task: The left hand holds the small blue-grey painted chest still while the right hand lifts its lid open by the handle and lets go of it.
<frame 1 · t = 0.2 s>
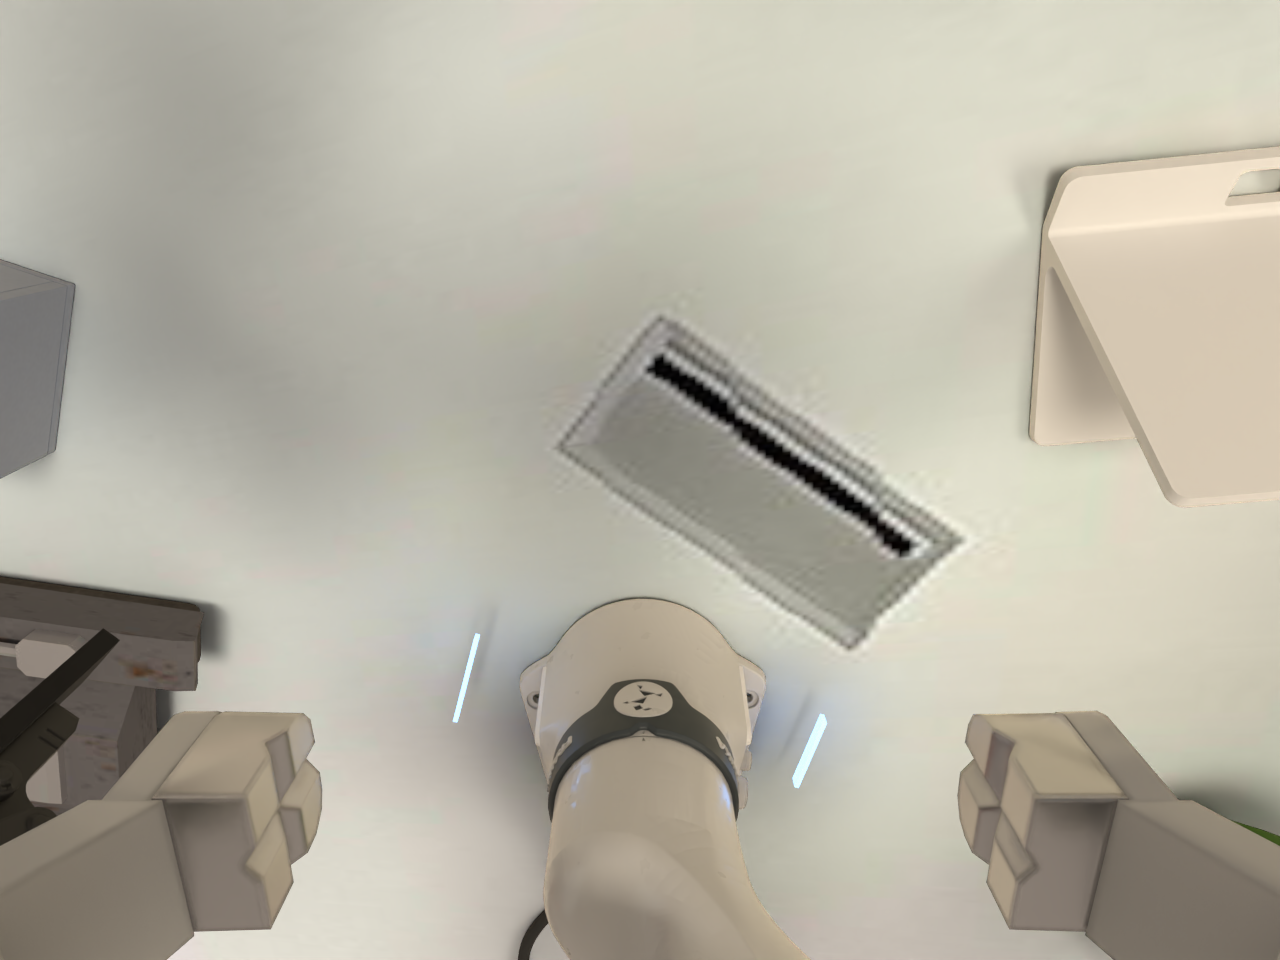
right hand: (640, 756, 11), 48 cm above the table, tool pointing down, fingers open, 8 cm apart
tablet stand: (1228, 294, 56), on the table
toy: (62, 692, 67), on the table
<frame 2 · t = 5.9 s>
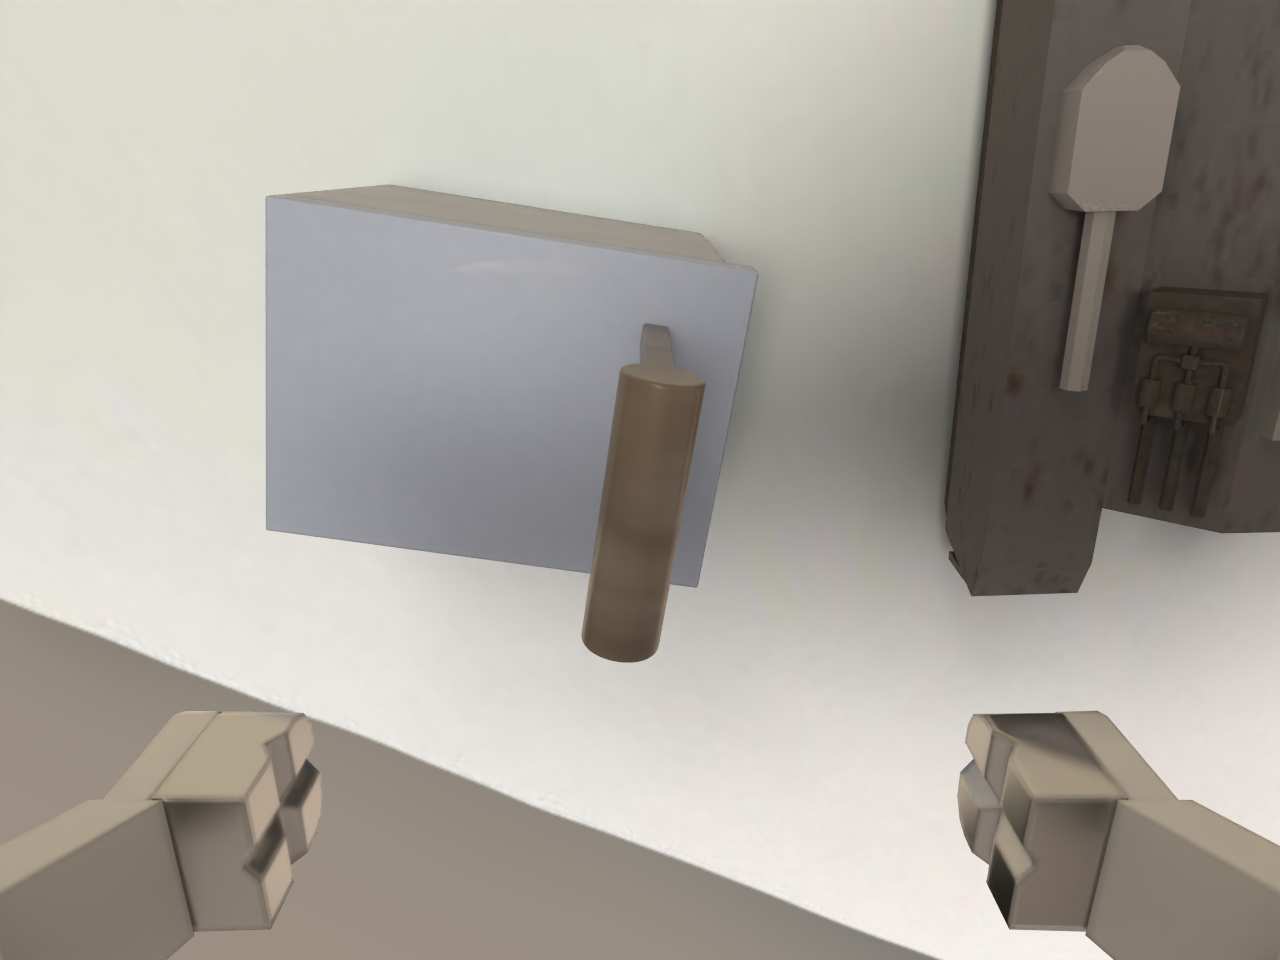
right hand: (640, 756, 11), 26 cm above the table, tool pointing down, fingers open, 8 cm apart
chest: (533, 330, 35), on the table
toy: (1217, 241, 33), on the table
lid: (479, 441, 21), point 15 cm above the table, hinge at 0.0°
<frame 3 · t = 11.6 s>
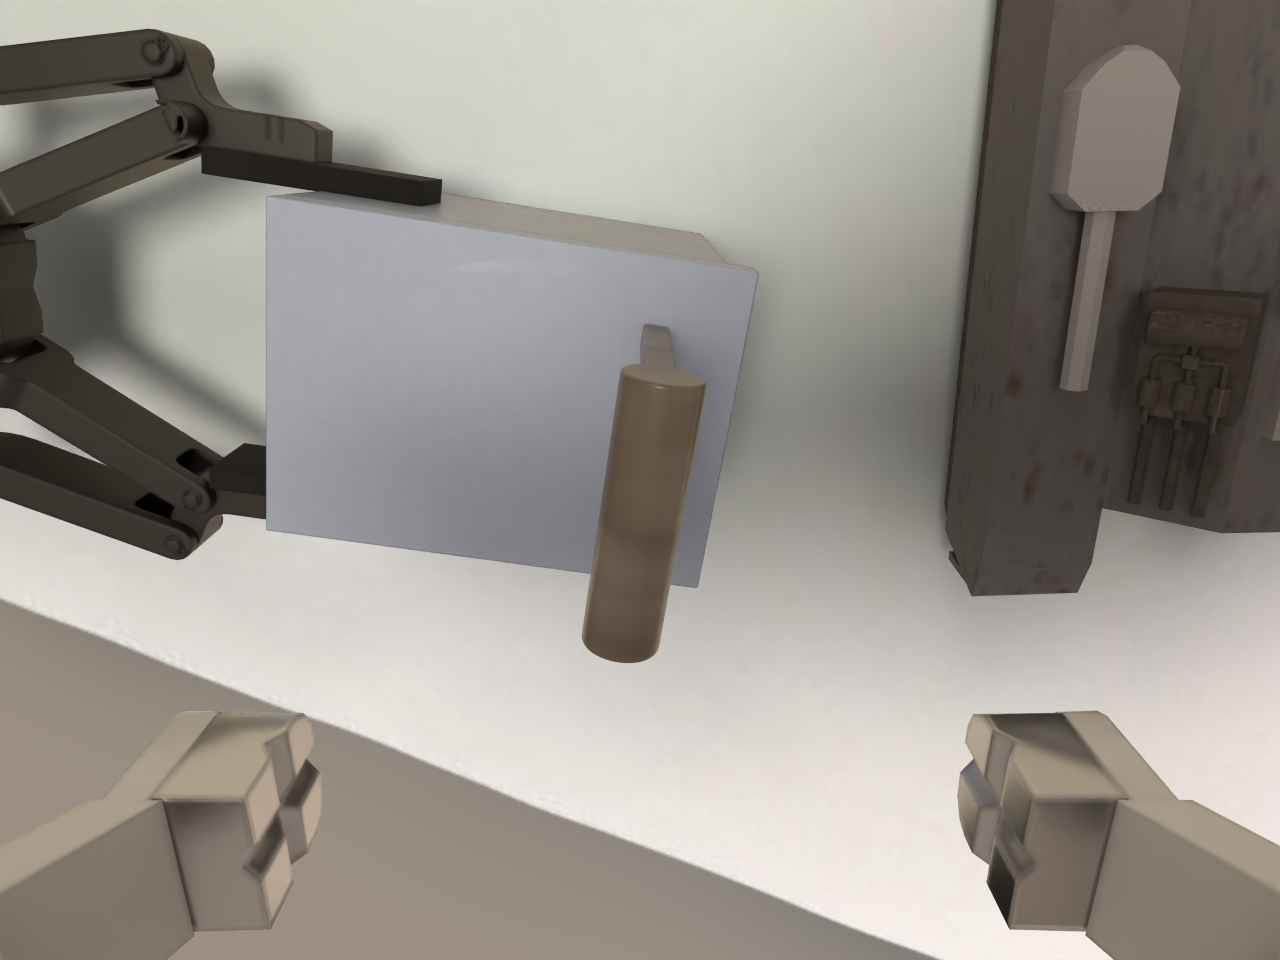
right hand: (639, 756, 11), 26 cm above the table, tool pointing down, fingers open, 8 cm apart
left hand: (422, 350, 29), fingers closed on chest, 9 cm apart
chest: (533, 330, 35), on the table, touching left hand
toy: (1217, 241, 33), on the table
lid: (480, 442, 21), point 15 cm above the table, hinge at 0.0°
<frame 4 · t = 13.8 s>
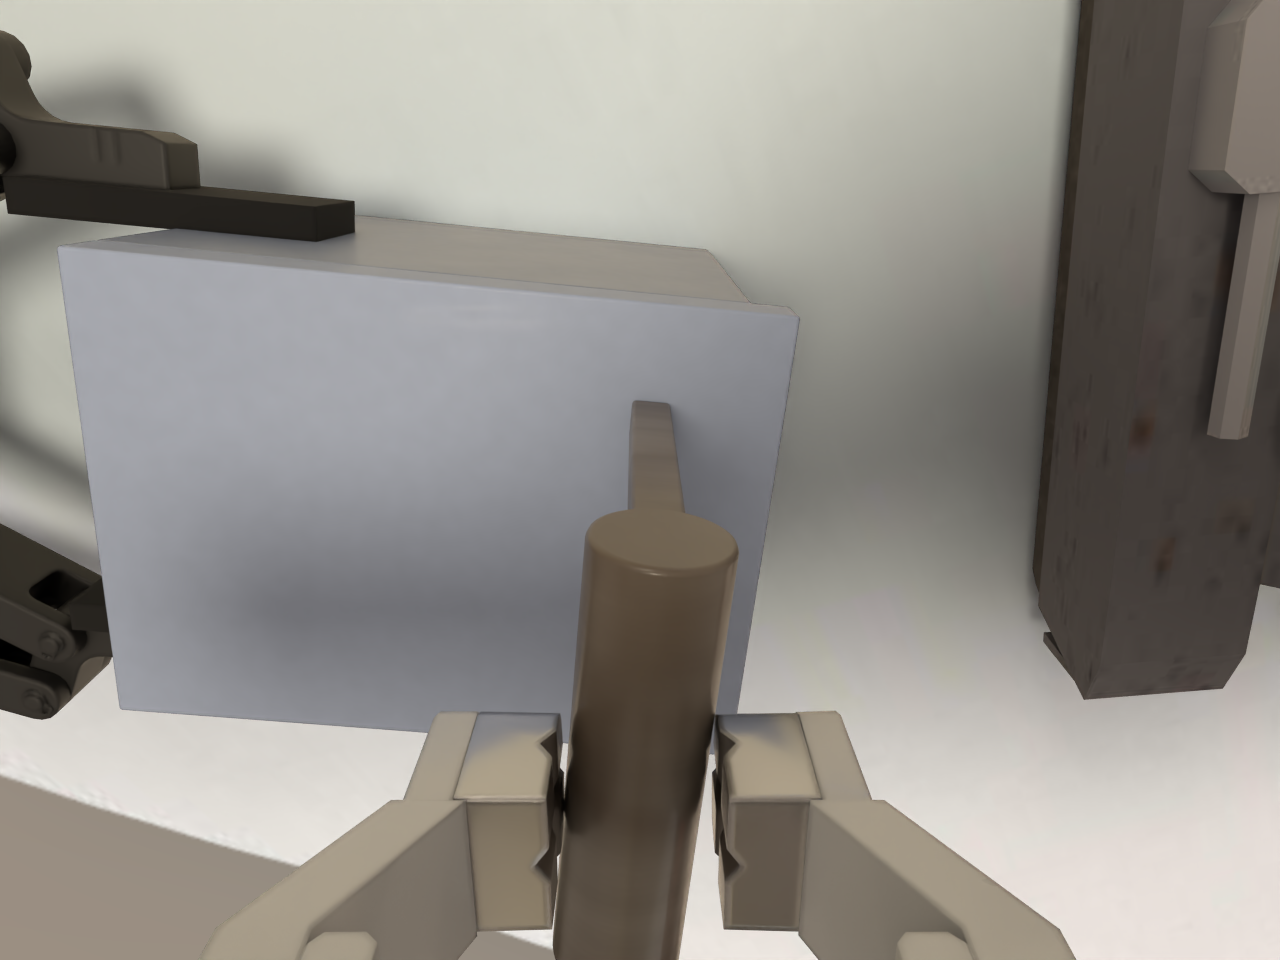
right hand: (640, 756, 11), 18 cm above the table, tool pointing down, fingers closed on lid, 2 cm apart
chest: (501, 383, 27), on the table, touching left hand
lid: (388, 607, 14), point 15 cm above the table, hinge at -0.1°, touching right hand
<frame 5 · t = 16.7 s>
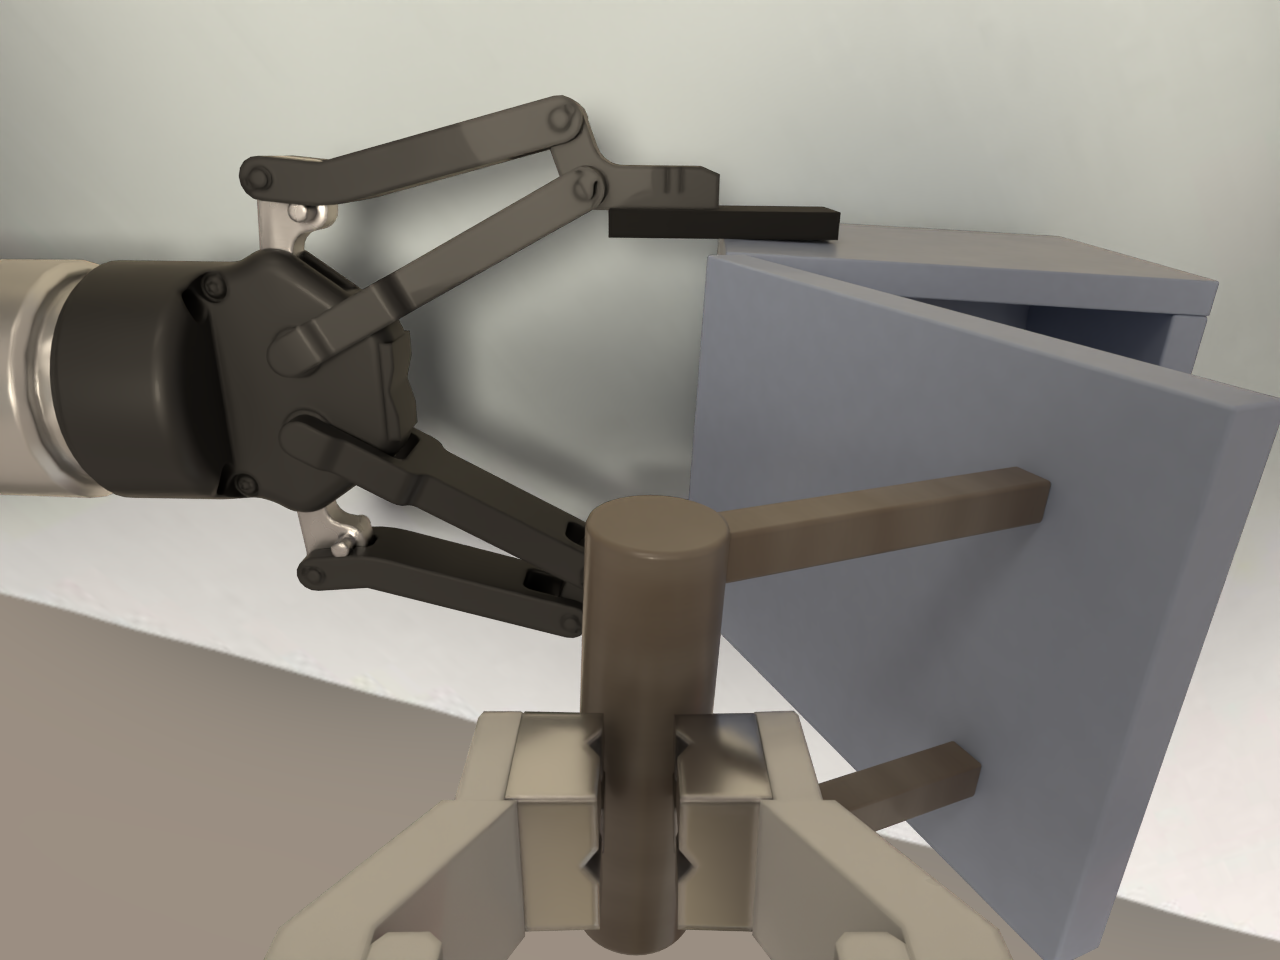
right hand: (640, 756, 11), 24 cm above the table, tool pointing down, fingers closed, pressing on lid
left hand: (815, 391, 27), fingers closed on chest, 10 cm apart
chest: (869, 354, 33), on the table, touching left hand
lid: (712, 562, 16), point 18 cm above the table, hinge at 60.7°, touching right hand
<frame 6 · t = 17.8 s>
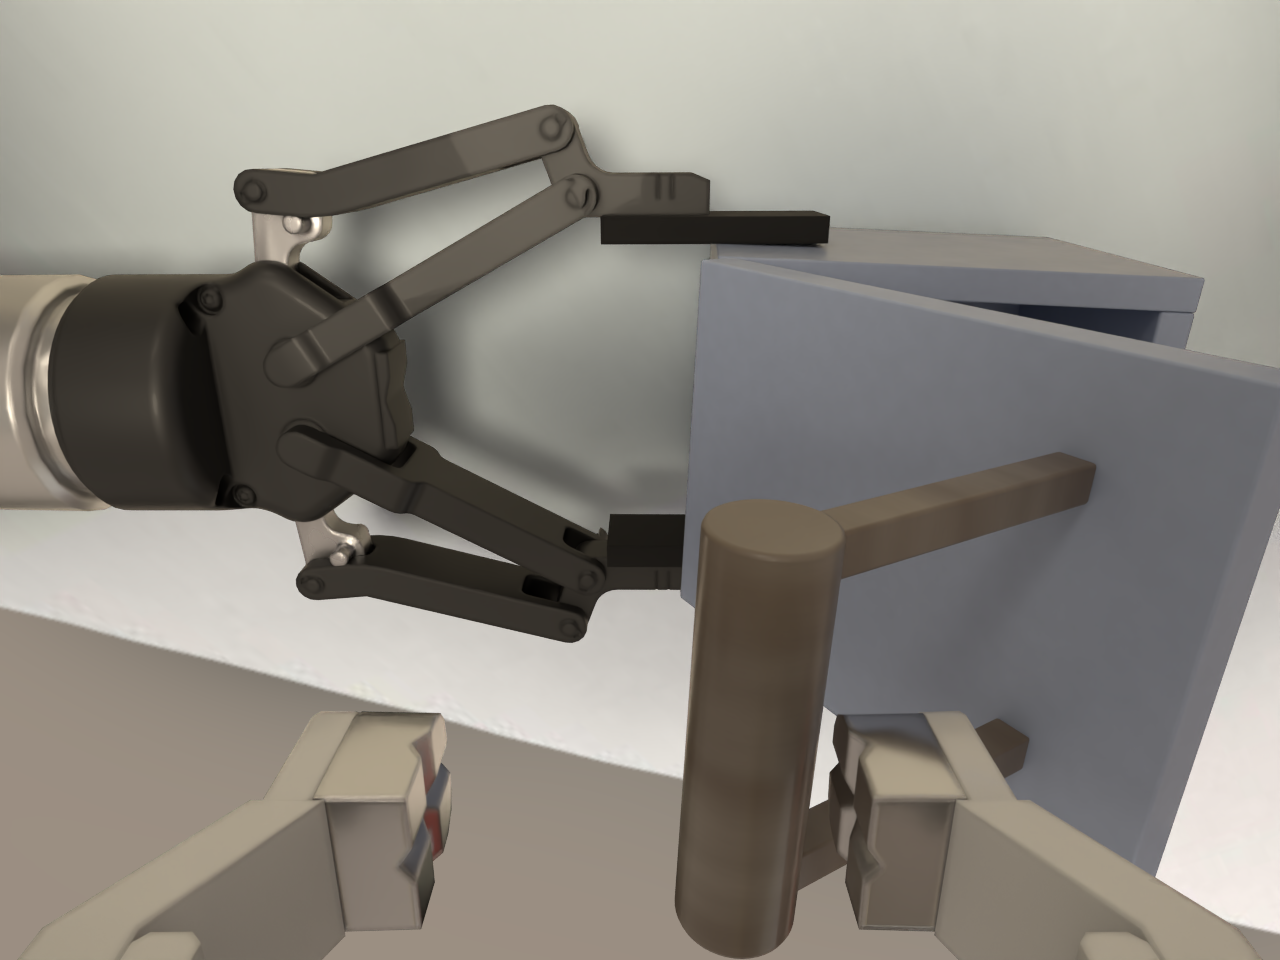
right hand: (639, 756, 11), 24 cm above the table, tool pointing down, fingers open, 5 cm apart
left hand: (809, 393, 27), fingers closed on chest, 10 cm apart
chest: (861, 356, 33), on the table, touching left hand
lid: (753, 563, 16), point 18 cm above the table, hinge at 54.0°
when the left hand's fingers open (6 cm above the table, at t = 20.9 s): chest stays where it is, on the table.
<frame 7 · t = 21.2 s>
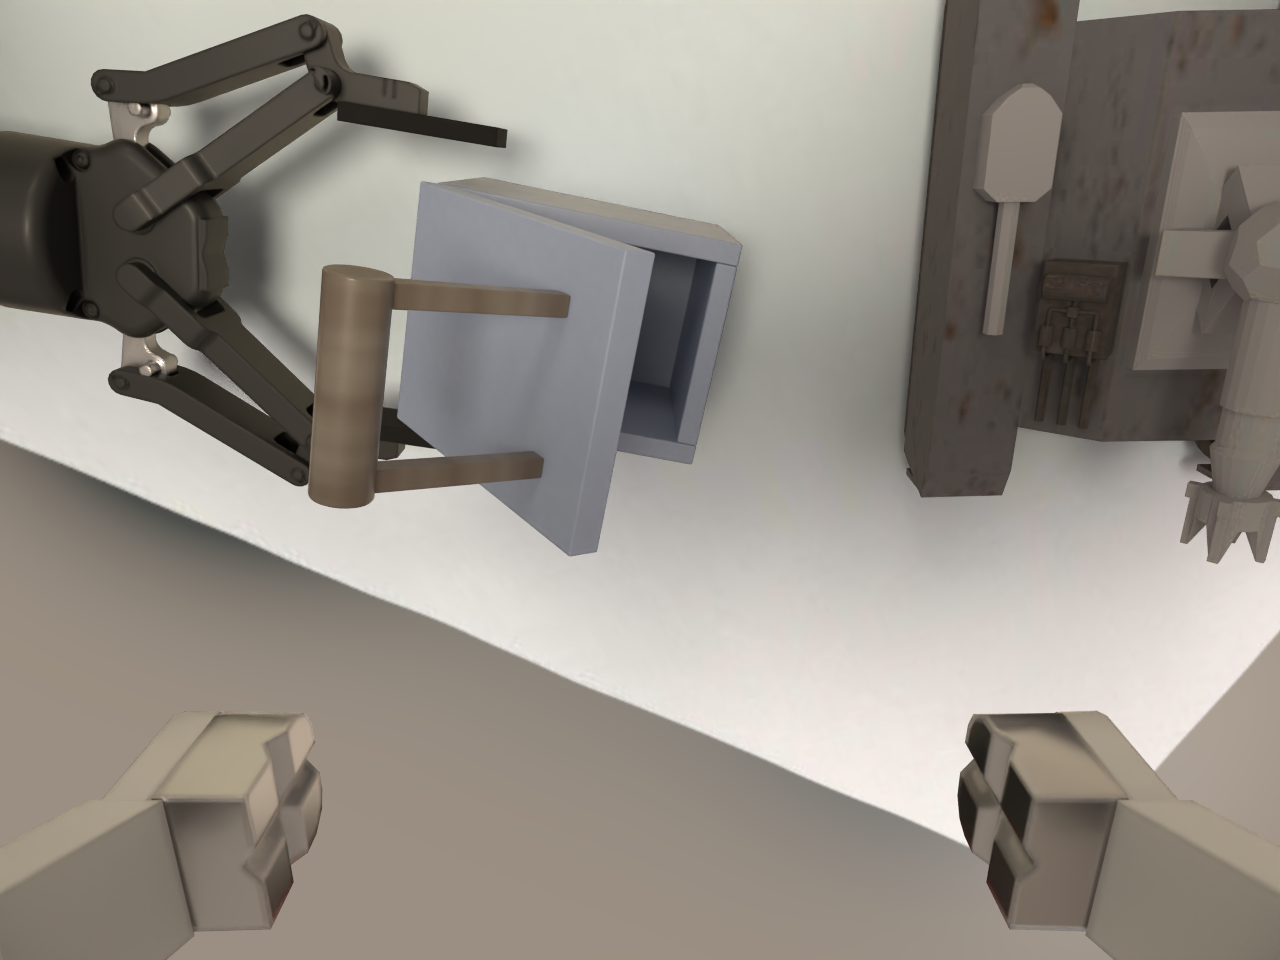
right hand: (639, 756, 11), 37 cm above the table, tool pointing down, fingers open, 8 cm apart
left hand: (488, 296, 39), fingers open, 13 cm apart
chest: (586, 294, 45), on the table
toy: (1111, 227, 44), on the table
lid: (403, 349, 28), point 18 cm above the table, hinge at 51.5°
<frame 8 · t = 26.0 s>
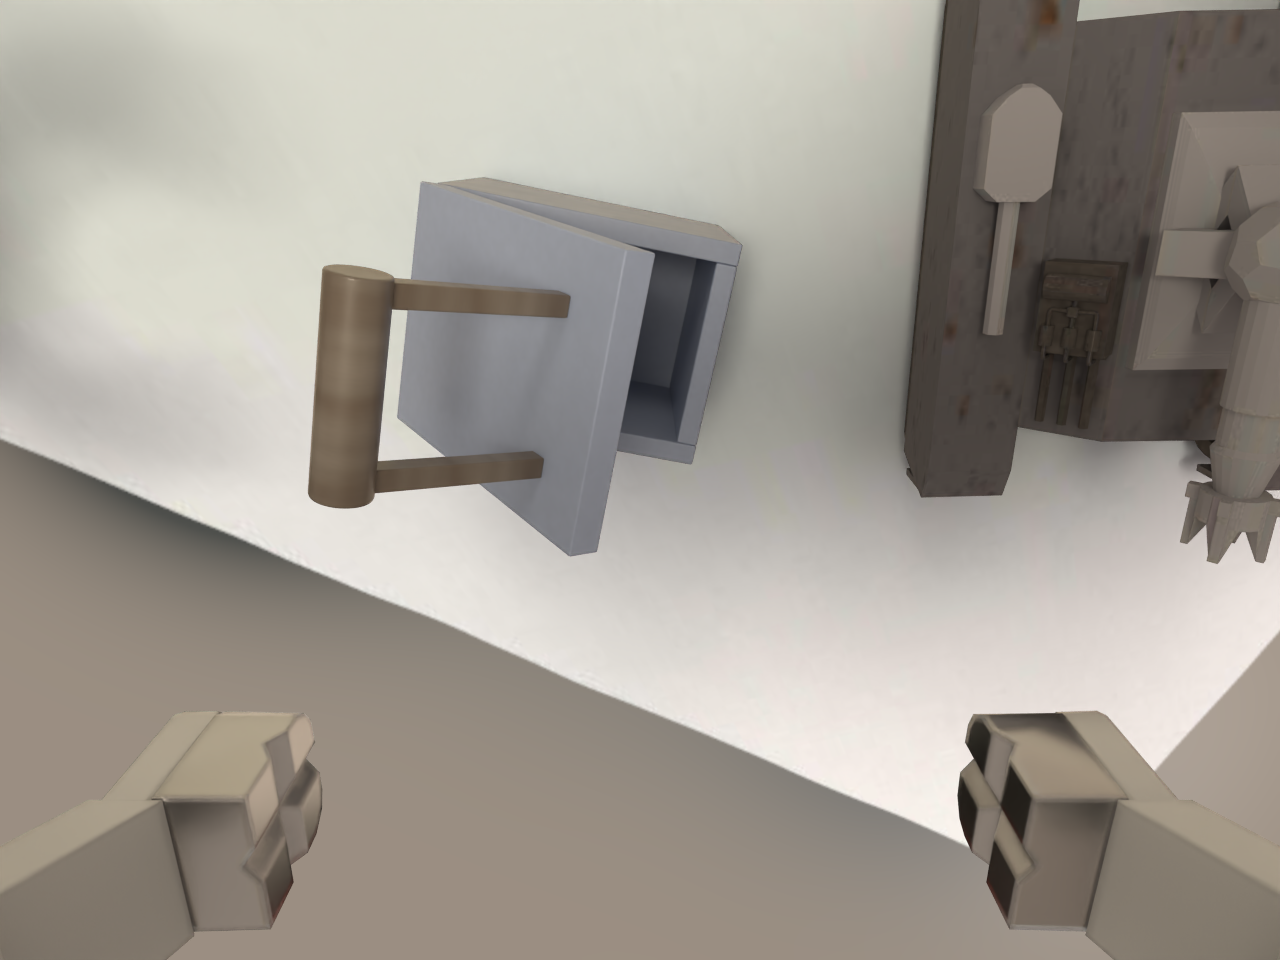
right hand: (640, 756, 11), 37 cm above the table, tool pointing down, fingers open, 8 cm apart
chest: (586, 294, 45), on the table
toy: (1111, 227, 44), on the table
lid: (403, 349, 28), point 18 cm above the table, hinge at 51.5°
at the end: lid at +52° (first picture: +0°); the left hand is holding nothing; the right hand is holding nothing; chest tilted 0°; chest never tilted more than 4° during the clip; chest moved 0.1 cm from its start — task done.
